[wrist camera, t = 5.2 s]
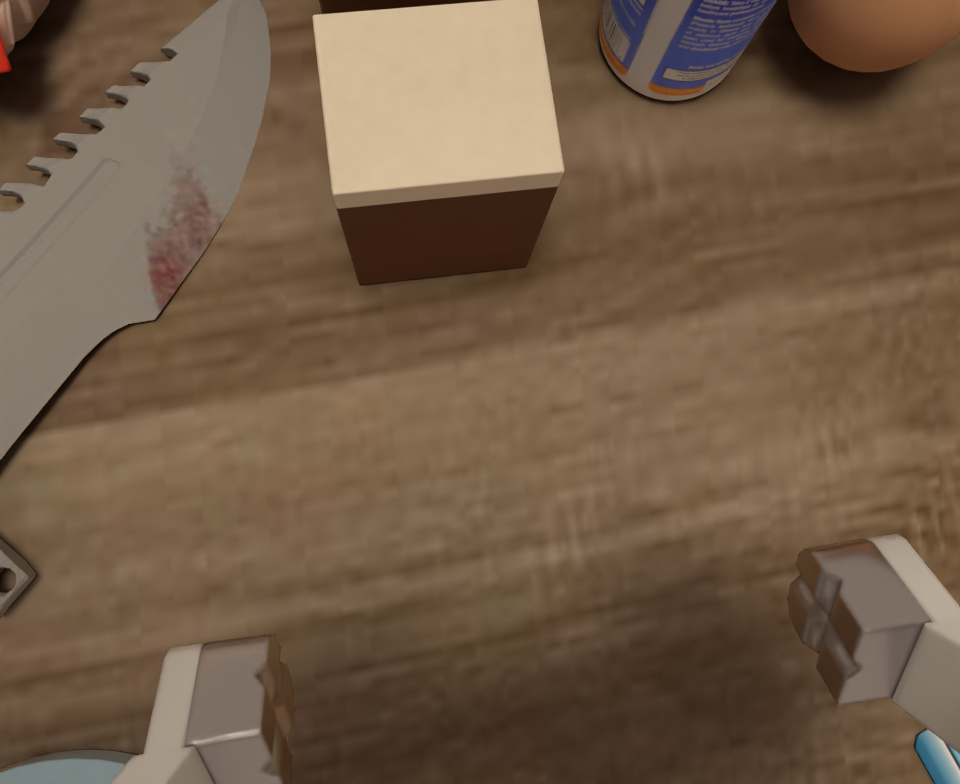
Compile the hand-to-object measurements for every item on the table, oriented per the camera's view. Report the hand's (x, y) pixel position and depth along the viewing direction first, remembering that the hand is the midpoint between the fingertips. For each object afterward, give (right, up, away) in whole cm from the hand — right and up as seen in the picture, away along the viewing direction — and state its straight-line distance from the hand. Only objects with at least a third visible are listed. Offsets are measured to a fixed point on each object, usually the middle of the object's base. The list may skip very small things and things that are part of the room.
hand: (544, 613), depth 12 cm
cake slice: (-3, +10, +16) cm, 19 cm away
